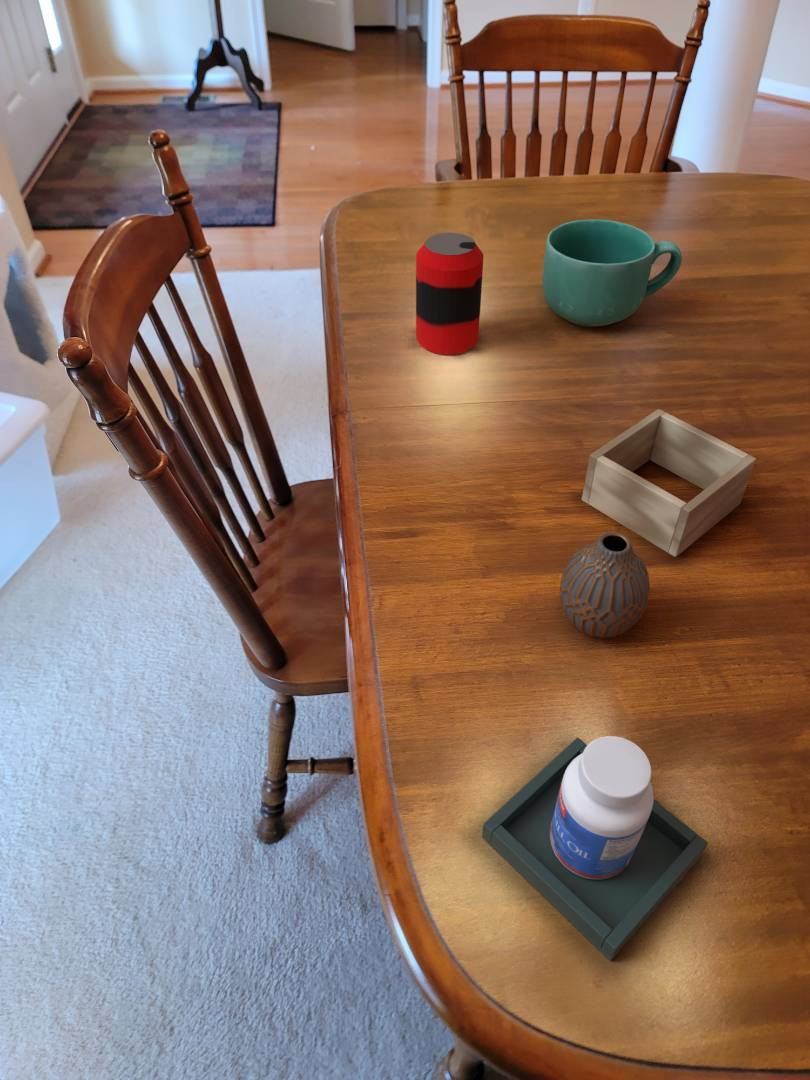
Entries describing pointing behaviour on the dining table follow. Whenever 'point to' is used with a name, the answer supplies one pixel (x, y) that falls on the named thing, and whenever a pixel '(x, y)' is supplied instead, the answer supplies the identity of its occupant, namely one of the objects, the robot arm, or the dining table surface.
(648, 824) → the tray
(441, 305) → the soda can
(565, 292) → the mug
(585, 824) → the pill bottle
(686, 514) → the crate
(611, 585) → the vase
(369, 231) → the dining table surface
